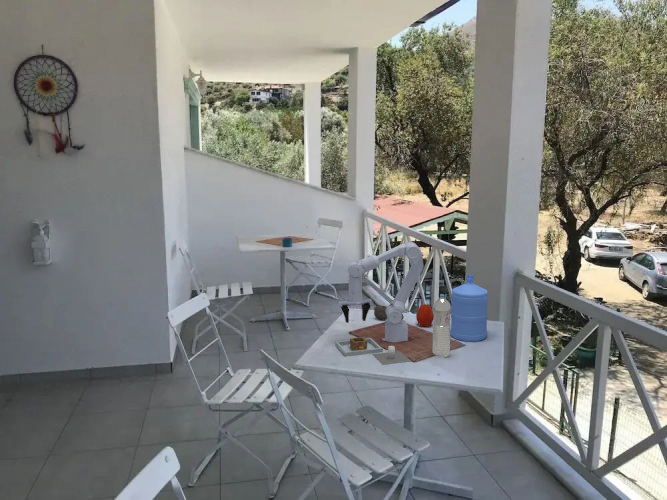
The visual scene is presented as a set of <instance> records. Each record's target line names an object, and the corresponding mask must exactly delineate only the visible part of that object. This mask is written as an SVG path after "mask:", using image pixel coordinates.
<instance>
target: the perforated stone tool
mask: <svg viewBox="0 0 667 500" xmlns="http://www.w3.org/2000/svg"><path fill="white" fill-rule="evenodd" d="M386 307H387V306H386V305H381V304H380V305H376V306H375V307H374V309H373V310H374V311H373V315H374V318H376V319H378V320H382V321H385V320H386V319H387V315H386V313H385V310H386ZM404 318H405V316H404V314H403V313H402V321H404Z"/></svg>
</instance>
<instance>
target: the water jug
mask: <svg viewBox="0 0 667 500" xmlns="http://www.w3.org/2000/svg"><path fill="white" fill-rule="evenodd" d="M474 276H475V275H474V274H473V273H468V274H466V283H464V284H461V285H459V286H457V287H454V288H452V290H451V310H450V336H451V337H452V338H454V339H456V340H458V341H464V342H479V341H484V340H485V339H487V336H488V331H487V330H488V328H487V325H488V303H489V292H488V290H487V289H486V288H484V287H482V286H479V285H477V284H475V281H474V280H475V278H474Z"/></svg>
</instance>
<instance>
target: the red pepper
mask: <svg viewBox="0 0 667 500" xmlns="http://www.w3.org/2000/svg"><path fill="white" fill-rule="evenodd" d="M433 314H434V310H432V307H431V306H430V305H429V304H426V303H424V304H421V305H420V306H419V307H418V309H417V311H416V316H415V317H416V322H417V324H418V325H419V326H420V327H424V328H427V327H431V325H433Z"/></svg>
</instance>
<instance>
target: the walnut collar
mask: <svg viewBox="0 0 667 500" xmlns="http://www.w3.org/2000/svg"><path fill="white" fill-rule="evenodd" d="M349 340H350V344H349V347H350V349H351V350H352V351H358V350H366V349H368V343H367V341H366V340H365V338H364V337H363V336H360V337H351V338H349Z"/></svg>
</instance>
